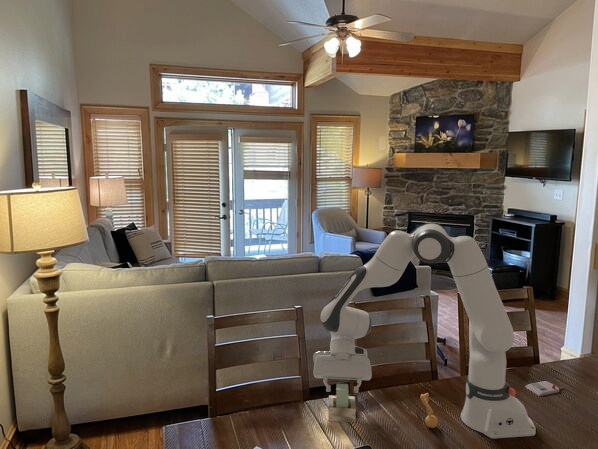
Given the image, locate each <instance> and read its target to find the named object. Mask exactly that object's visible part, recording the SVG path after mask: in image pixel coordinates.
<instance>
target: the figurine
mask: <svg viewBox="0 0 598 449" xmlns="http://www.w3.org/2000/svg"><path fill="white" fill-rule="evenodd" d="M429 396H430V394H429V392H426V393H421V394H420V397H419V398H420V401H421V402H422V403H423V405H424V406H425V407H426V413H427V416H426V417H425V419H424V420H425V421H424V422H425V425H426V426H427V427H428V428H429V429H435V428H437V427H438V425H439V420H438V418H437V416H435V415H434V412H433V409H432V407H431V405H430V404H429V400H430V399H429Z"/></svg>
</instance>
